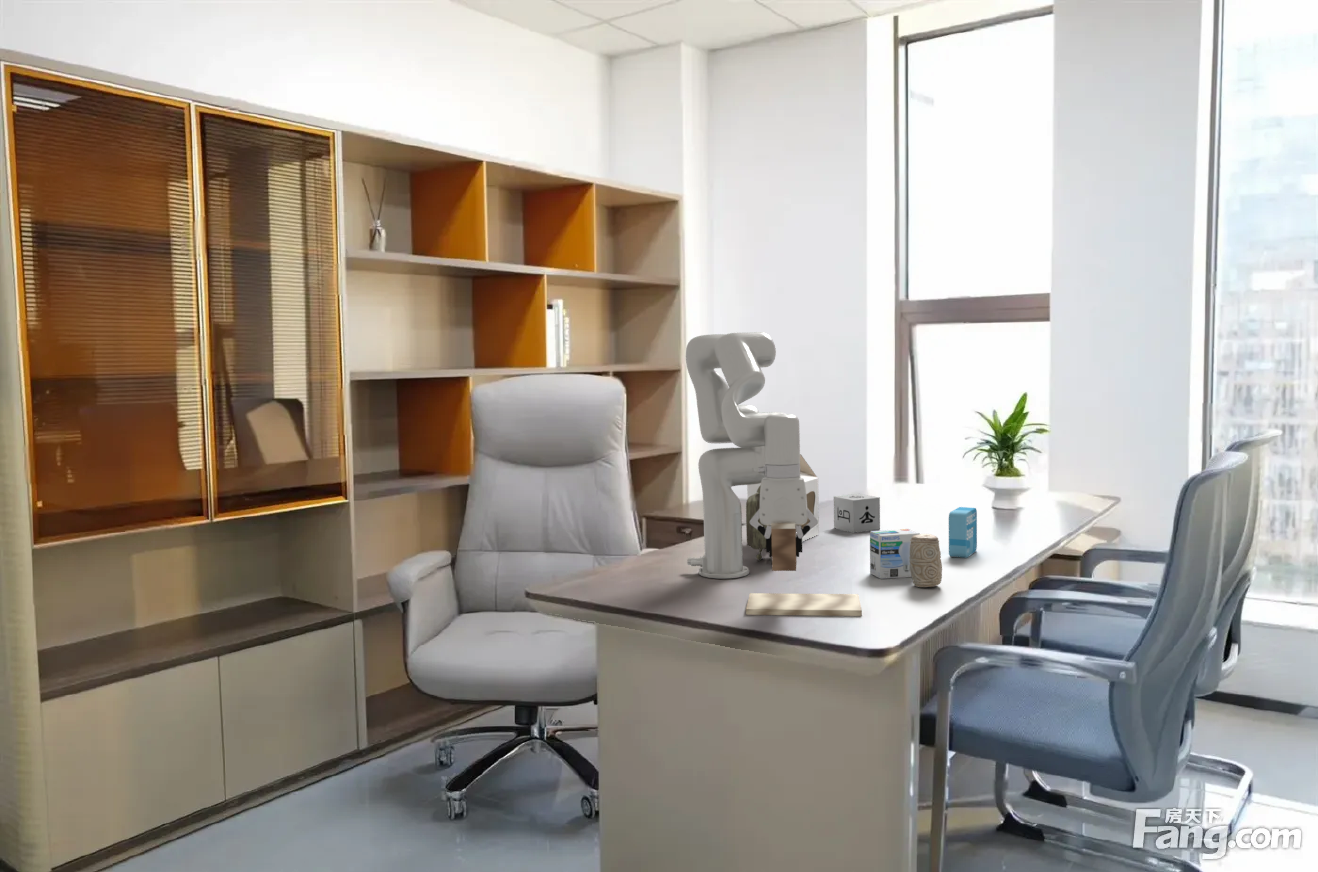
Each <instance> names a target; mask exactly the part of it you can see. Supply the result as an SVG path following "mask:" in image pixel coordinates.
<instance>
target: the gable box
mask: <svg viewBox="0 0 1318 872" xmlns="http://www.w3.org/2000/svg"><path fill="white" fill-rule="evenodd" d="M800 477H801V478H803V479H804V482H805V487H806V496H807V508H808V509H809V510H810V511H811V513H812V514H813V515H814V516H815V517H816V519H817V520H818V524H817V525H815V526H814V527H813V528H812V529H810V530H809V531H808V532H807V533H806V534H805V535H804V536H803V538H802V543H803V541H804V542H806V541H808V540H810V539H813V538H814V536H815V537H817V536H819V535H820V520H819V519H820V515H819V514H820V512H819V511H820V507H819V506H820V505H819V503H820V501H819V477H818V476H817V475H816V474H815V472H814V471H813V469H812V467H811V466H810V465H809V464H808V462H807V461H806V459H805V458H804V456H803V455H802V454H801V453H800ZM760 485H761V483H759V484H751V485H746V486H747V488H746V489H747V493H746V494H747V498H748V497H750V496H752V495H754V494H756V493H757V490H758V488H759V486H760ZM809 522H810V520H809V519H808V517H807V522H806V523H805V524H803V525H801V527H802V528H803V527H804V526H805V525H807V524H808V523H809ZM796 534H797V533H796ZM818 534H819V535H818ZM816 535H817V536H816ZM812 537H813V538H812ZM809 538H810V539H809ZM807 539H808V540H807ZM805 540H806V541H805Z"/></svg>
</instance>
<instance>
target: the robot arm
mask: <svg viewBox="0 0 1318 872" xmlns="http://www.w3.org/2000/svg"><path fill="white" fill-rule="evenodd" d="M688 341H689V342H688V343H687V345H686V347H685V364H686V370H687V372H688V375H689V378H690V380H691V383H692V385H693V388H694V391H695V396H696V398H695V399H696V405H697V414H698V415H697V417H698V423H699V431H700V435H701V439H703V441H704V442H705V443H709V444H734V446H736V447H721V448H720V447H719V448H713V449H709V450H706V451H705V452H703V453H702V454H701V455H700V457H699V460H698V464H697V465H698V474H699V477H700V478H699V479H700V483H701V492H702V504H703V505H702V508H703V509H702V510H703V512H702V513H703V535H704V537H703V538H704V539H703V541H704V542H703V543H704V545H703V547H704V548H703V549H704V554H703V555H702V556H699V557H687V559H686V560H687V561H686V563H687V564H686V565H687V566H691V567H700V568H698V574H699V576H701V577H704V578H708V579H725V580H726V579H736V578H737V579H738V578H742V577H746V576H748V575H749V573H750V570H749V569H750V568H749V567H747V566H745V565H743V561H744V560H743V528H742V527H743V523H742V522H743V521H742V519H743V518H742V517H743V515H742V514H743V513H742V502H741V501H740V498H739V497H738V496H737V494H736V493H735V492H734V490H733V489H732V487H736V486H737V487H738V486H747V485H751V484H759V483H761V487H760V509H759V510H758V511H757V512H756V514H755V515H754V516H753V517H752V519H751V520H750V524H751V525H752V526H753V527H754V528H756V529H757V530H758V531H759V532H760V533H761V534H762V535H763V536H764V537H765V538H766V549H765V550H766V553H768V554H769V558H772V535H771V523H795V529H796V532H797V534H796V558H800V553H803V542H802V538H803V536H804V535H805V534H806V533H807V532H808V531H809V530H810V529H812V528H813V527H814V526H815V525H817V524H818V520H817V519H816V517H815V516H814V515H813V514H812V513H811V511H810V510H809V509H808V508H807V496H806V487H805V482H804V479H803V478H801V477H800V454H801V449H800V448H801V444H800V441H801V440H800V438H801V437H800V434H801V433H800V421H799V420H800V419H799V418H798V416H796V415H794V414H786V413H785V412H781V411H780V412H779V411H774V412H773V411H771V412H770V411H769V412H760V411H759V410H758V408H757V407H755V406H753V405H751V404H742V403H745V402H746V401H748V400H750V399H752V398H754V397H755V396H757V395H758V394H760V392H761V391H762V390H763V388H764V386H765V383H766V377H765V375H764V373H763V369H762V368H768V367H770V366H772V365H773V364H774V362H775V359H776V356H777V355H776V354H777V350H776V346H775V345H776V344H775V343H774V340H773V339H772V338H771V336H770V335H769V334H767V333H765V332H757V331H756V332H731V333H726V334H725V333H724V334H723V333H722V334H721V333H720V334H719V333H718V334H701V335H698V336H696V337H693V338H691V339H690V340H688ZM715 369H720V370H721V373H722V374H723V377H724V378H725V379H724V378H723V377H722V375H721V374H719V372H717V371H716V370H715ZM807 517H808V519H809V520H810V522H809V523H808V524H807V525H805V526H804V527H803V528H802V527H801V525H803V524H805V523H806V522H807ZM759 518H760V522H761V523H762V524H763V525H767V528H765V527H764V526H762V525H761V524H760V523H758V519H759Z"/></svg>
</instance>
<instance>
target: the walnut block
mask: <svg viewBox="0 0 1318 872" xmlns="http://www.w3.org/2000/svg"><path fill="white" fill-rule="evenodd" d="M771 535H772V557H771V571H773V572H774V571H775V572H776V571H778V572H779V571H780V572H783V571H784V572H797V559H798V558H797V556H796V529H795V523H771Z"/></svg>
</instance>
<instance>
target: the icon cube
mask: <svg viewBox="0 0 1318 872" xmlns="http://www.w3.org/2000/svg"><path fill="white" fill-rule="evenodd" d="M880 499H881V497H879V496H873V495H868V494H862V493H854V494H847V495H844V494H843V495H836V496H833V528H834V529H835V528H836V529H837V530H839V531H840V530H841V531H844V532H848V531H850V532H849V533H852V532H857V533H863V532H862V531H865V532H870V531H881V509H880V508H881V500H880Z"/></svg>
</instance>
